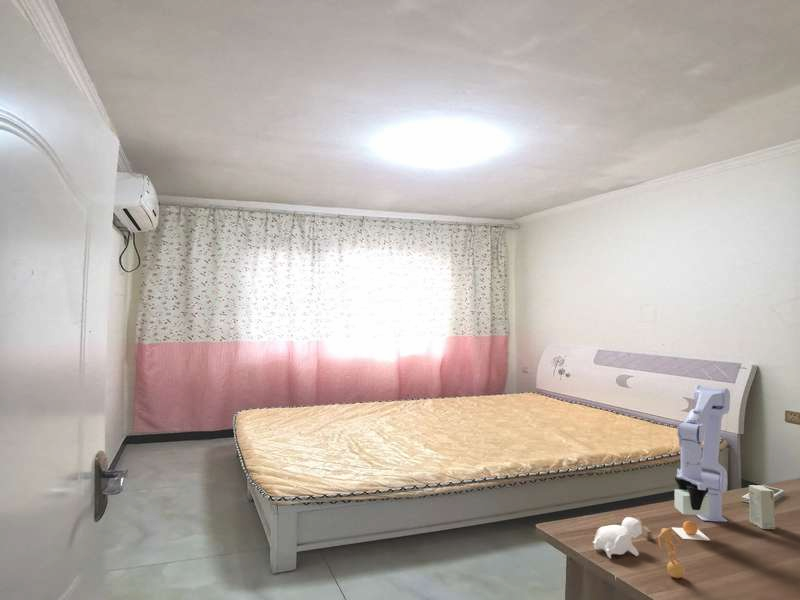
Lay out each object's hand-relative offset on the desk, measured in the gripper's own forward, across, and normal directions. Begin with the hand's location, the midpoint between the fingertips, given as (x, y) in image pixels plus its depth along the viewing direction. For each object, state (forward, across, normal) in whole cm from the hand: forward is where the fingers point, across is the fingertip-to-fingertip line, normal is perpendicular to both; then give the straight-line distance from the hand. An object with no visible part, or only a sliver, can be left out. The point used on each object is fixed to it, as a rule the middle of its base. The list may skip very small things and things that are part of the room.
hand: (690, 505), depth 157 cm
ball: (+7, 0, 0) cm, 7 cm away
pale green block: (+2, 0, 0) cm, 2 cm away
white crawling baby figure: (+9, +14, -26) cm, 31 cm away
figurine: (+9, +27, -17) cm, 33 cm away
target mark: (+9, 0, 0) cm, 9 cm away
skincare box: (+9, -10, +27) cm, 30 cm away
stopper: (+9, 0, -15) cm, 17 cm away
